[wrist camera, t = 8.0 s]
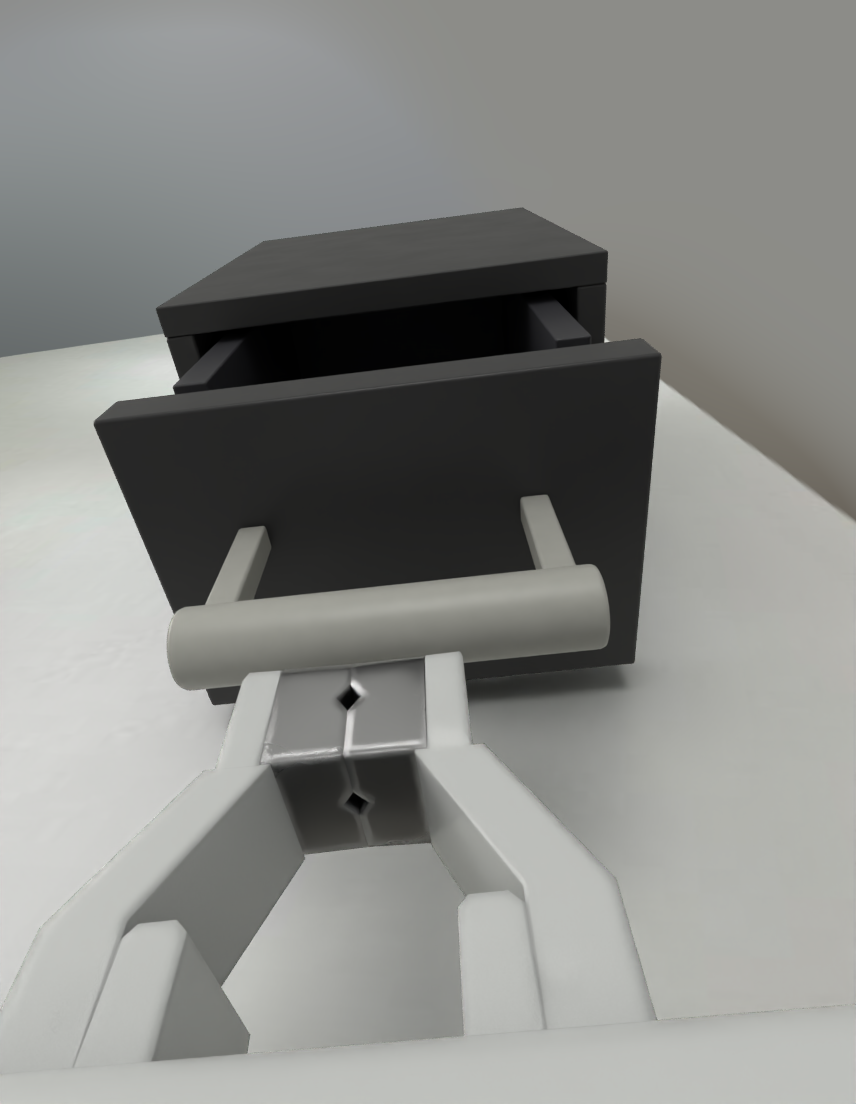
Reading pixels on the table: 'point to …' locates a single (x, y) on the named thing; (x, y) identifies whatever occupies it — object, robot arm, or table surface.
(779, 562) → the table surface
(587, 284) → the dark grey drawer cabinet
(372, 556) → the black drawer
